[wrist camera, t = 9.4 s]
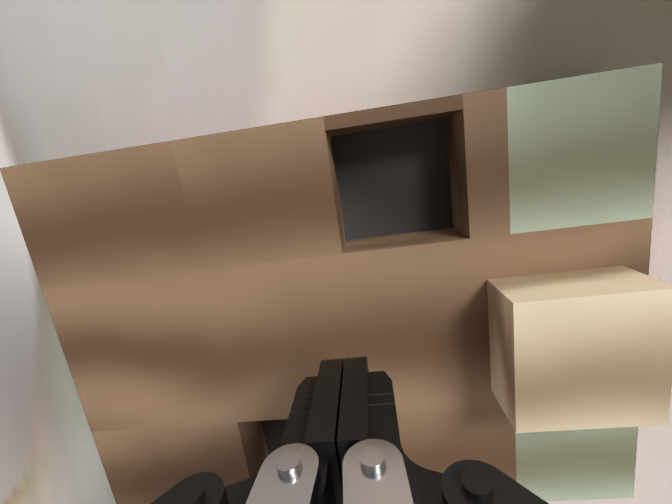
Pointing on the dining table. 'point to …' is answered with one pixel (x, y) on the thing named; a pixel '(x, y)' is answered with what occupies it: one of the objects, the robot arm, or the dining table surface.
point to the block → (581, 349)
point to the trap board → (338, 273)
